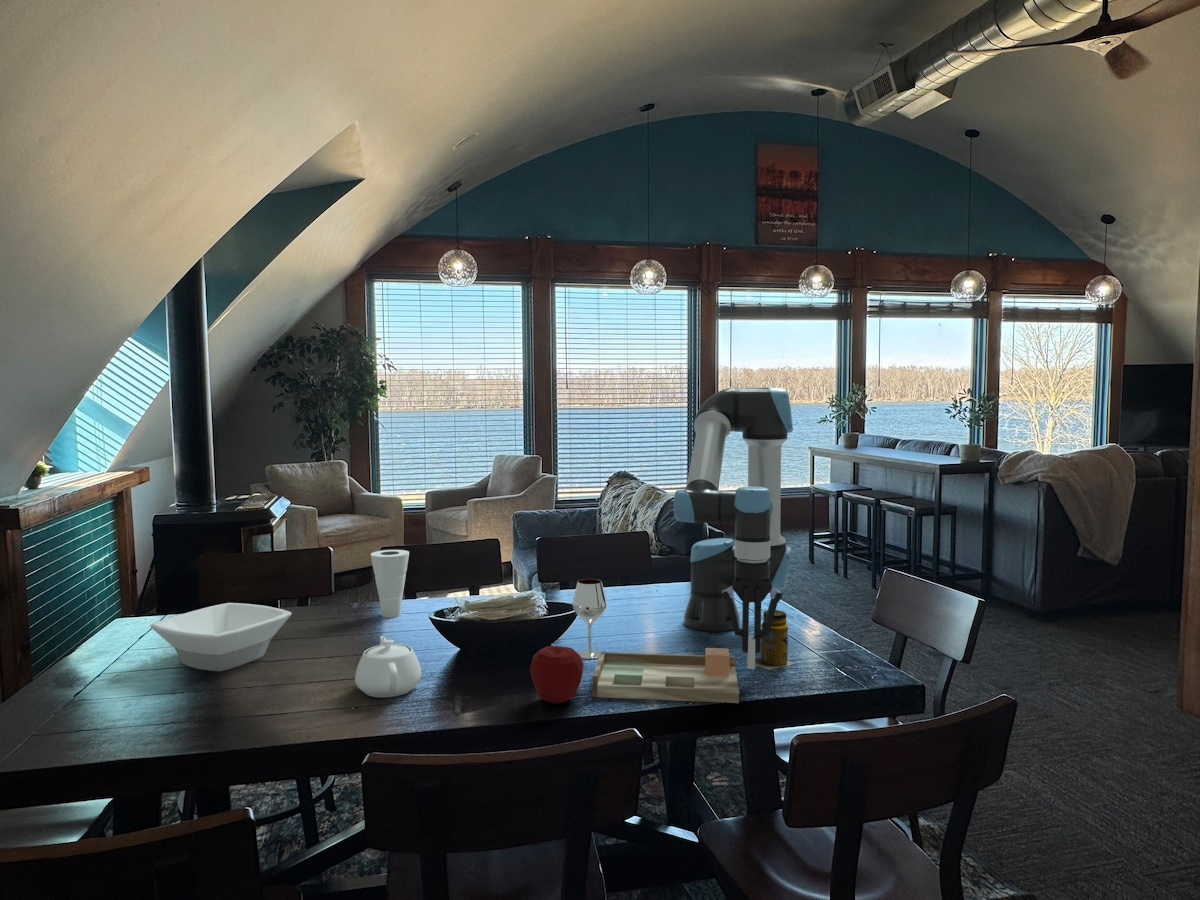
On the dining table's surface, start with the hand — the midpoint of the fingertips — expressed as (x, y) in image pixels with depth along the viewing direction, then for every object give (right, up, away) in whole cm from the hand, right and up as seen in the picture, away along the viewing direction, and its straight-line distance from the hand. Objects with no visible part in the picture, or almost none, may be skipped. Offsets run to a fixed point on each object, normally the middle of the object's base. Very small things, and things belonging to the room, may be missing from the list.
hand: (750, 666), depth 173 cm
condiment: (+7, -3, +14) cm, 17 cm away
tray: (-18, -4, -1) cm, 19 cm away
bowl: (-122, -3, +17) cm, 123 cm away
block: (-7, -1, +1) cm, 7 cm away
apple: (-42, -5, -9) cm, 43 cm away
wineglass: (-35, -3, +20) cm, 41 cm away
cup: (-93, -1, +56) cm, 108 cm away
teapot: (-78, -4, -2) cm, 78 cm away
